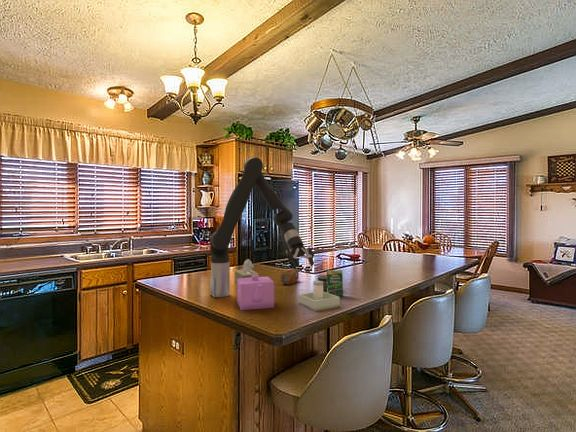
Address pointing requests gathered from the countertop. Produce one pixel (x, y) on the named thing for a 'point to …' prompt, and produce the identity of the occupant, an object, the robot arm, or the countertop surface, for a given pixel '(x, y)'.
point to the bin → (319, 301)
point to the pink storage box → (255, 292)
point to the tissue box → (245, 271)
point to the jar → (324, 279)
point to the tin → (289, 276)
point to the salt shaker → (317, 290)
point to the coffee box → (335, 283)
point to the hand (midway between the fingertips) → (305, 265)
